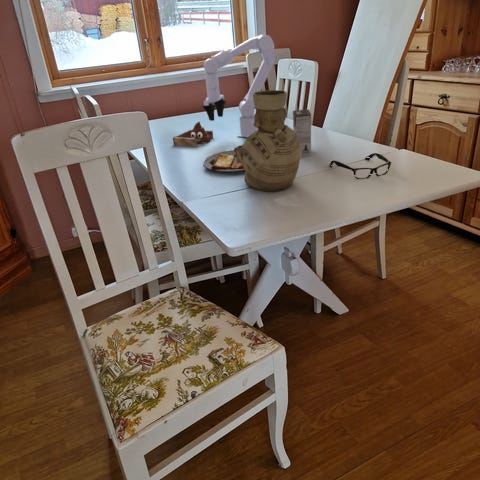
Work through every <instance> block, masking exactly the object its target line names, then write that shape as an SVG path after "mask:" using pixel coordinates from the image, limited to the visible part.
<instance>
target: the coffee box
mask: <svg viewBox="0 0 480 480" xmlns="http://www.w3.org/2000/svg"><path fill="white" fill-rule="evenodd" d="M292 126H293V127H292V130H294V132H295V133H296V135H297V137H298V141H299V146H300V157H307V156H310V157H311V156H312V114H311V111H310V109H298V110H292Z"/></svg>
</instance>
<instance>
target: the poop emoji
mask: <svg viewBox="0 0 480 480" xmlns="http://www.w3.org/2000/svg"><path fill="white" fill-rule="evenodd" d="M191 130H192V131H191V133H190V137H189V138H195V139H197V144H206V143H208V142H210V140H211V138H210V137H209V136H208V135H207V132H206V131H205V130H206V129H205V128H204V126H202V125H201V121H198V122H196V123H195V124H194V126H193V128H192V129H191Z"/></svg>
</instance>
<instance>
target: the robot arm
mask: <svg viewBox="0 0 480 480" xmlns="http://www.w3.org/2000/svg"><path fill="white" fill-rule="evenodd" d="M250 50H255V51H256V50H258V51H259V52H260V54H261V57H262V61H261V64H260V66H259V68H258V70H257V72H256V75H255V76H254V78H253V81H252V83H251V85H250V88H249V90H248V92H247V93H246V94H245V96H244V98H243V99H242V100H241V101H240V103H238V109H239V112H240V114H239V128H240V130H239V131H240V134H238V135H237V138H238V137H239V138H248V137H249V136H250V135H251V134H252V133H253V132H254V131H258V127H255V126H254V125H253V124H254V116H255V114H256V113H254V112H255V105H254V101H253V93H254V92H258V91H262V88H263V87H264V85H265V82H266V80H267V78H268V76H269V74H270V72H271V70H272V68H273V65H274V63H275V61H276V55H275V43H274V41H273V38H272V37H271V36H270V35H267V34H264V33H261V34H259V35H257V36H254V37H251V38H249V39H247V40H245V41H244V42H242V43H240V44H238V45H237V46H236V47H234V48H232V49H231V50H230V49H227V48H225V49H221V50H220V52H219V53H217V54H215V55H211V56H210V57H211V58H207V59H206V60H205V61H204V63H203V69H204V71H205V72H204V76H205V79H204V80H205V87H206V94H207V96H206V98H205V100H203V105H202V107H203V109H204V110H205V112H206V115H207V117H208V120H209V121H212V122H213V121H215V110H216V113H217V117H219V118H221V117H223V115H224V109H225V106H226V102H227V100H226V99H225V95H224V94H221V93H220V82H219V76H218V69H222V68H223V67H226V66H227V65H230V64H232V63H233V61H234V58H235V57H238V56H239V55H241V54H243V53H246V52H248V51H250Z"/></svg>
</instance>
